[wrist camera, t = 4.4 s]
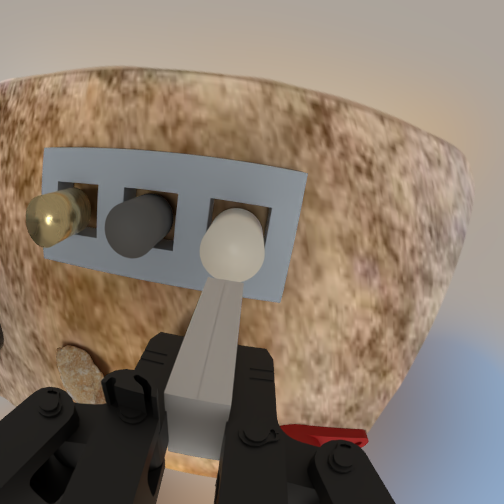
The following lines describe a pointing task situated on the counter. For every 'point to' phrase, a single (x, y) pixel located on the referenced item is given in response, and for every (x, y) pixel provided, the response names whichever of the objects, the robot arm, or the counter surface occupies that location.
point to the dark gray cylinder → (138, 225)
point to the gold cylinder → (57, 216)
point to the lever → (324, 434)
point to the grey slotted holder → (188, 211)
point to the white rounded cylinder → (233, 246)
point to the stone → (80, 375)
